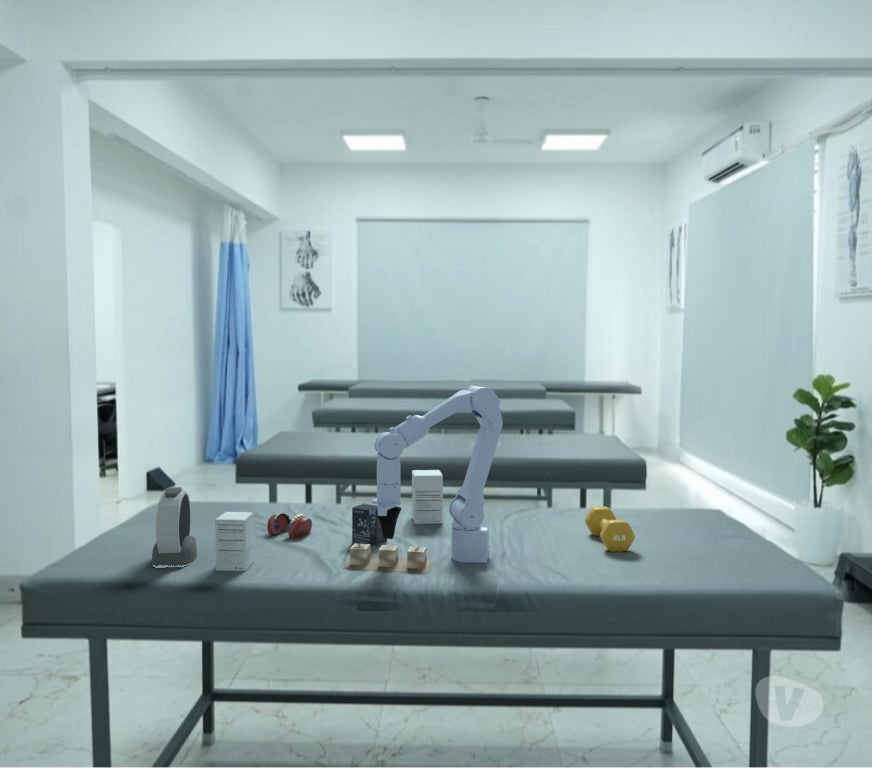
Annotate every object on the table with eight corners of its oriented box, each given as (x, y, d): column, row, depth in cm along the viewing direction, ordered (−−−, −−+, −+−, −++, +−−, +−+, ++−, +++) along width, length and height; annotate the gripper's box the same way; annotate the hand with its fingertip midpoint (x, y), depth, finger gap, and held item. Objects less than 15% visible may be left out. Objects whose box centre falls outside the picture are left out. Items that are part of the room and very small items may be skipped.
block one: (426, 563, 165) (426, 546, 164) (423, 568, 161) (423, 551, 160) (410, 562, 165) (410, 545, 165) (407, 567, 161) (407, 550, 161)
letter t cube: (370, 560, 167) (370, 543, 166) (366, 565, 163) (366, 548, 163) (354, 559, 167) (354, 543, 167) (350, 564, 163) (350, 547, 163)
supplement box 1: (225, 561, 168) (224, 511, 168) (255, 561, 168) (254, 511, 167) (215, 571, 161) (214, 519, 160) (245, 571, 161) (245, 519, 160)
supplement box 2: (411, 517, 212) (411, 469, 211) (439, 516, 213) (439, 469, 212) (413, 524, 203) (413, 475, 202) (443, 524, 204) (443, 475, 203)
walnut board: (432, 563, 168) (432, 559, 167) (425, 577, 158) (425, 573, 158) (354, 559, 170) (354, 555, 170) (342, 572, 161) (342, 568, 161)
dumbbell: (583, 533, 196) (583, 505, 195) (614, 533, 196) (614, 505, 196) (602, 553, 177) (602, 522, 176) (636, 553, 177) (637, 522, 177)
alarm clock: (189, 569, 162) (188, 494, 161) (144, 571, 160) (143, 495, 159) (201, 549, 178) (200, 480, 177) (161, 551, 176) (159, 481, 175)
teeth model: (281, 507, 199) (315, 512, 194) (281, 528, 199) (315, 533, 194) (262, 514, 191) (297, 520, 186) (263, 536, 192) (298, 542, 187)
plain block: (398, 561, 166) (398, 545, 165) (394, 567, 162) (394, 550, 162) (382, 560, 166) (382, 544, 166) (378, 566, 162) (378, 549, 162)
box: (351, 546, 182) (351, 507, 181) (363, 540, 187) (363, 502, 186) (375, 550, 178) (375, 511, 177) (387, 545, 183) (387, 506, 182)
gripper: (379, 476, 171) (379, 529, 171) (364, 488, 156) (364, 546, 157) (406, 477, 169) (406, 530, 170) (394, 489, 155) (394, 547, 156)
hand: (388, 538), depth 164 cm, fingers closed
